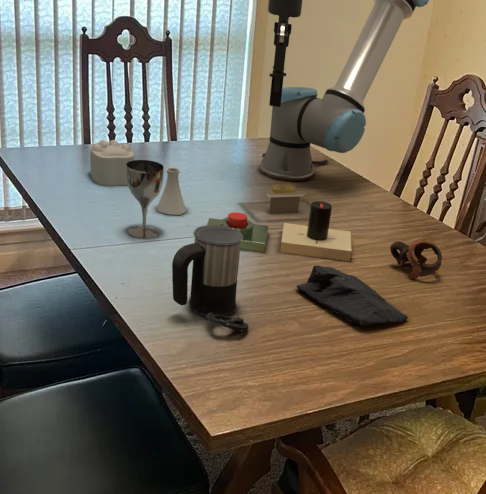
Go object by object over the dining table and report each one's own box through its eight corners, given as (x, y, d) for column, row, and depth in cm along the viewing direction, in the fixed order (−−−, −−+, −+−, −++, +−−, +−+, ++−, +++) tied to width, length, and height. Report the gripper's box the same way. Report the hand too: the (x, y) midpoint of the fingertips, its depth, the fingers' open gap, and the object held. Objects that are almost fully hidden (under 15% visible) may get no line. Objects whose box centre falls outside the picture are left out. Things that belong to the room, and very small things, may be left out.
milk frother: (208, 291, 154) (212, 220, 145) (274, 317, 148) (283, 244, 140) (163, 315, 143) (165, 240, 135) (233, 344, 137) (239, 268, 129)
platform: (241, 203, 196) (243, 178, 193) (304, 201, 203) (307, 177, 200) (258, 221, 188) (260, 195, 184) (323, 218, 195) (327, 193, 191)
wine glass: (168, 231, 176) (170, 166, 168) (149, 241, 170) (150, 174, 161) (139, 222, 178) (140, 157, 170) (119, 232, 172) (118, 165, 164)
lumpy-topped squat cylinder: (97, 186, 194) (96, 151, 189) (86, 169, 204) (84, 135, 199) (137, 185, 199) (138, 151, 194) (124, 168, 208) (124, 135, 203)
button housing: (267, 234, 182) (269, 218, 179) (264, 252, 173) (266, 235, 170) (208, 226, 181) (209, 210, 179) (202, 244, 172) (203, 227, 170)
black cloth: (353, 336, 145) (357, 314, 143) (290, 287, 160) (293, 266, 157) (413, 322, 153) (418, 301, 150) (349, 277, 167) (352, 256, 165)
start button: (247, 222, 177) (248, 213, 176) (245, 229, 173) (246, 220, 172) (228, 219, 177) (229, 211, 175) (226, 226, 173) (227, 218, 172)
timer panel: (348, 241, 184) (350, 230, 183) (349, 261, 174) (351, 250, 173) (282, 232, 184) (284, 222, 182) (280, 252, 174) (281, 241, 172)
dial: (307, 231, 180) (311, 198, 175) (327, 233, 180) (332, 201, 175) (306, 238, 176) (310, 205, 171) (327, 241, 176) (332, 208, 171)
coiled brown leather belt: (435, 267, 179) (450, 246, 171) (424, 297, 174) (439, 277, 167) (389, 245, 178) (401, 223, 171) (376, 275, 174) (389, 253, 166)
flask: (189, 207, 190) (191, 167, 184) (183, 217, 184) (184, 176, 178) (160, 203, 190) (161, 162, 184) (153, 213, 184) (154, 171, 178)
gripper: (302, 1, 166) (290, 114, 179) (302, -7, 177) (290, 101, 190) (268, -4, 166) (258, 110, 179) (270, -11, 176) (260, 97, 190)
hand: (274, 105), depth 185 cm, fingers closed
